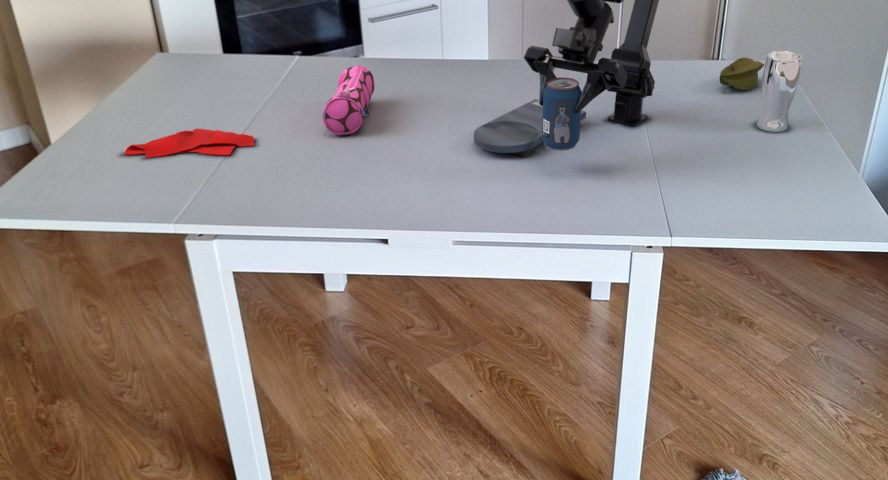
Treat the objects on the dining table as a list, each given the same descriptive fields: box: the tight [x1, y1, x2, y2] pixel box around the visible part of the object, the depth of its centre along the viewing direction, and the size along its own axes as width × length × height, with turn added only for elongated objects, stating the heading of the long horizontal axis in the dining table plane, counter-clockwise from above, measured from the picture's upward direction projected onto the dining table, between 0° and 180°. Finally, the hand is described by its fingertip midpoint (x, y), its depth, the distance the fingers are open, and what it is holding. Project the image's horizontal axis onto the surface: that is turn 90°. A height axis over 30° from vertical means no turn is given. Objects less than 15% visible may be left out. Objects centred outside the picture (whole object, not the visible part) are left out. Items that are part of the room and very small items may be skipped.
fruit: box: [719, 57, 765, 91], centre depth 207 cm, size 11×12×7 cm
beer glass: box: [756, 50, 803, 133], centre depth 183 cm, size 7×7×15 cm
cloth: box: [123, 128, 255, 159], centre depth 187 cm, size 26×14×2 cm, turn 89°
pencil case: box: [322, 64, 375, 136], centre depth 195 cm, size 21×10×10 cm, turn 178°
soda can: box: [542, 77, 582, 152], centre depth 165 cm, size 7×7×12 cm
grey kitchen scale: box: [473, 98, 587, 157], centre depth 185 cm, size 26×13×3 cm, turn 140°
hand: (558, 108), depth 163 cm, fingers closed on soda can, 7 cm apart
